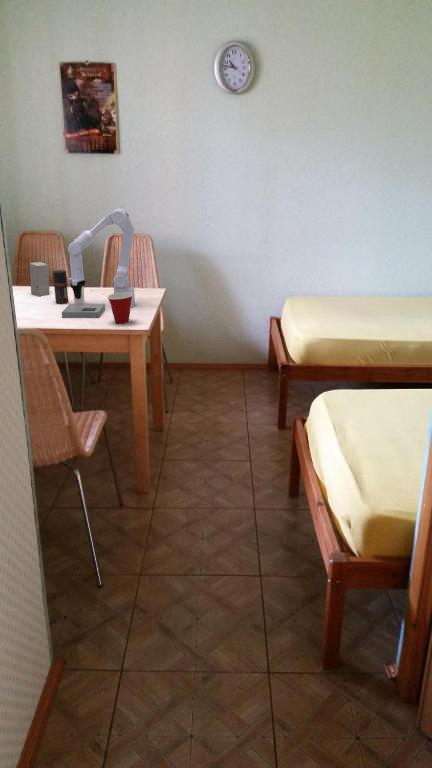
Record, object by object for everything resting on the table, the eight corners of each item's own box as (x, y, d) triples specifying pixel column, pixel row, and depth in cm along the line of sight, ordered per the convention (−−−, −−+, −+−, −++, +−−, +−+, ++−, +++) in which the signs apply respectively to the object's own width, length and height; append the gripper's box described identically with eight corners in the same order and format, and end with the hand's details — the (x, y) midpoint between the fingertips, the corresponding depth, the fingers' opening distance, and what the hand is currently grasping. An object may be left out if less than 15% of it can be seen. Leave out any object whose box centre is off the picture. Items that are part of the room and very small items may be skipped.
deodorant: (65, 304, 294) (62, 272, 289) (53, 303, 295) (50, 272, 290) (70, 301, 300) (67, 270, 295) (59, 301, 301) (56, 270, 296)
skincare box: (30, 294, 315) (27, 263, 310) (43, 292, 320) (40, 261, 314) (38, 296, 309) (35, 265, 304) (51, 294, 314) (48, 263, 308)
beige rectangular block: (84, 302, 292) (83, 286, 290) (83, 304, 289) (81, 287, 286) (76, 302, 293) (74, 286, 290) (74, 304, 289) (73, 287, 286)
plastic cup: (109, 319, 268) (107, 291, 264) (134, 318, 269) (133, 291, 265) (107, 325, 258) (105, 297, 254) (133, 325, 259) (131, 297, 255)
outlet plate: (105, 309, 285) (104, 303, 284) (98, 317, 270) (98, 312, 269) (70, 309, 285) (70, 303, 285) (62, 317, 270) (61, 312, 270)
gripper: (71, 265, 292) (74, 294, 296) (64, 271, 278) (67, 301, 283) (86, 265, 292) (88, 294, 296) (80, 271, 278) (82, 301, 283)
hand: (79, 297), depth 290 cm, fingers closed on beige rectangular block, 4 cm apart
